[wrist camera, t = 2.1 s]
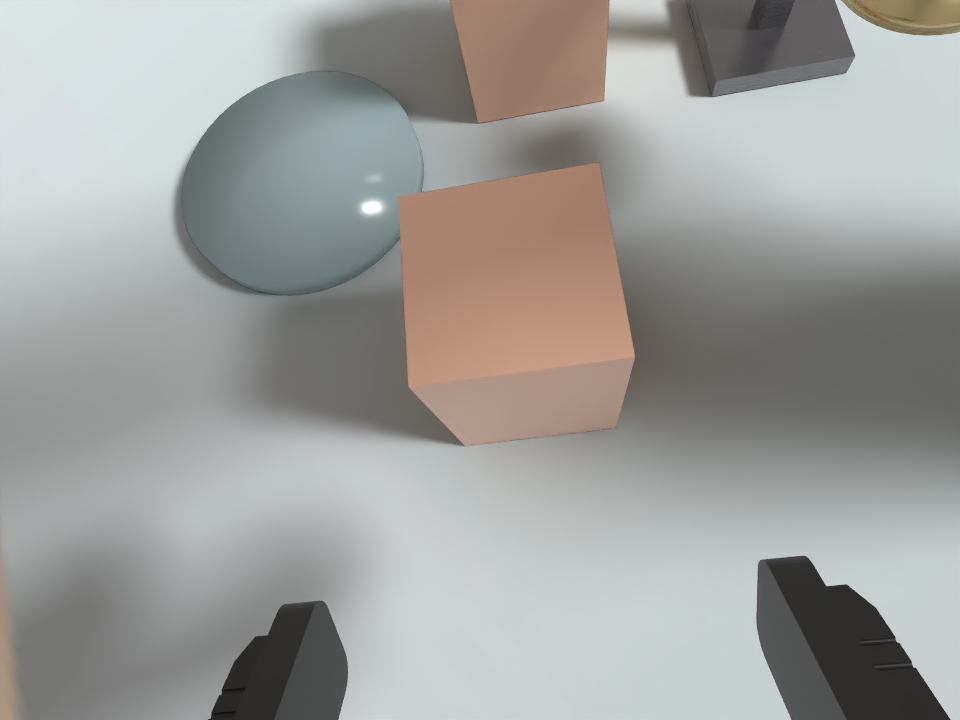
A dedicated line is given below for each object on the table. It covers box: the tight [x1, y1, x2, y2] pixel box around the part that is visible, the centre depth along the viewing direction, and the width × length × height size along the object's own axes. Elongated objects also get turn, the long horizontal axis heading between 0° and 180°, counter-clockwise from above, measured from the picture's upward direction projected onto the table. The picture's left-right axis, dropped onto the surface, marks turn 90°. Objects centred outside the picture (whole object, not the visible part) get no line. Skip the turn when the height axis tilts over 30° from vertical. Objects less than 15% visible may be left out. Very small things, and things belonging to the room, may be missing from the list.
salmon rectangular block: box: [398, 162, 635, 446], centre depth 22 cm, size 6×6×9 cm
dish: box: [182, 71, 424, 295], centre depth 30 cm, size 12×12×1 cm
